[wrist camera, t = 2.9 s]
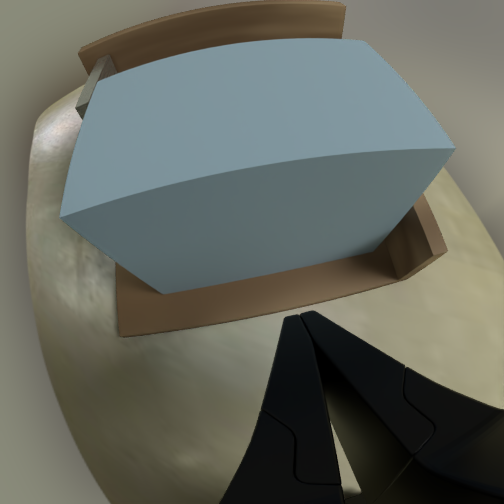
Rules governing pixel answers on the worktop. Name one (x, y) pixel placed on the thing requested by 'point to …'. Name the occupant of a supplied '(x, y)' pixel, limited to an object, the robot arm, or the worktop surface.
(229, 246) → the light blue block
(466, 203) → the worktop surface
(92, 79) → the bookend
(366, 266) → the shelf
